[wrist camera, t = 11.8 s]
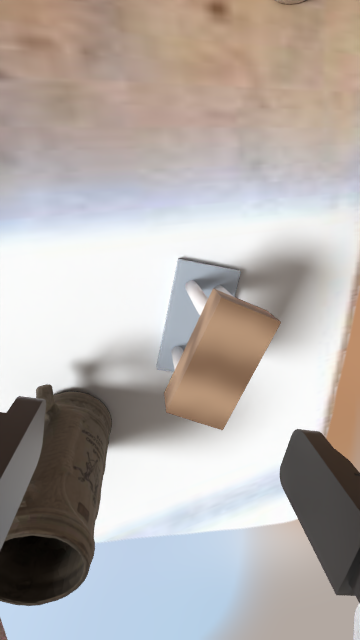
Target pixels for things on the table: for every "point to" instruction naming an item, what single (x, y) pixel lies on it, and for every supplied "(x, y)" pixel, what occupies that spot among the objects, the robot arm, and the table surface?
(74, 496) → the beer stein
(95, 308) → the table surface
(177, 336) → the peg stand
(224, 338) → the brown wooden block
